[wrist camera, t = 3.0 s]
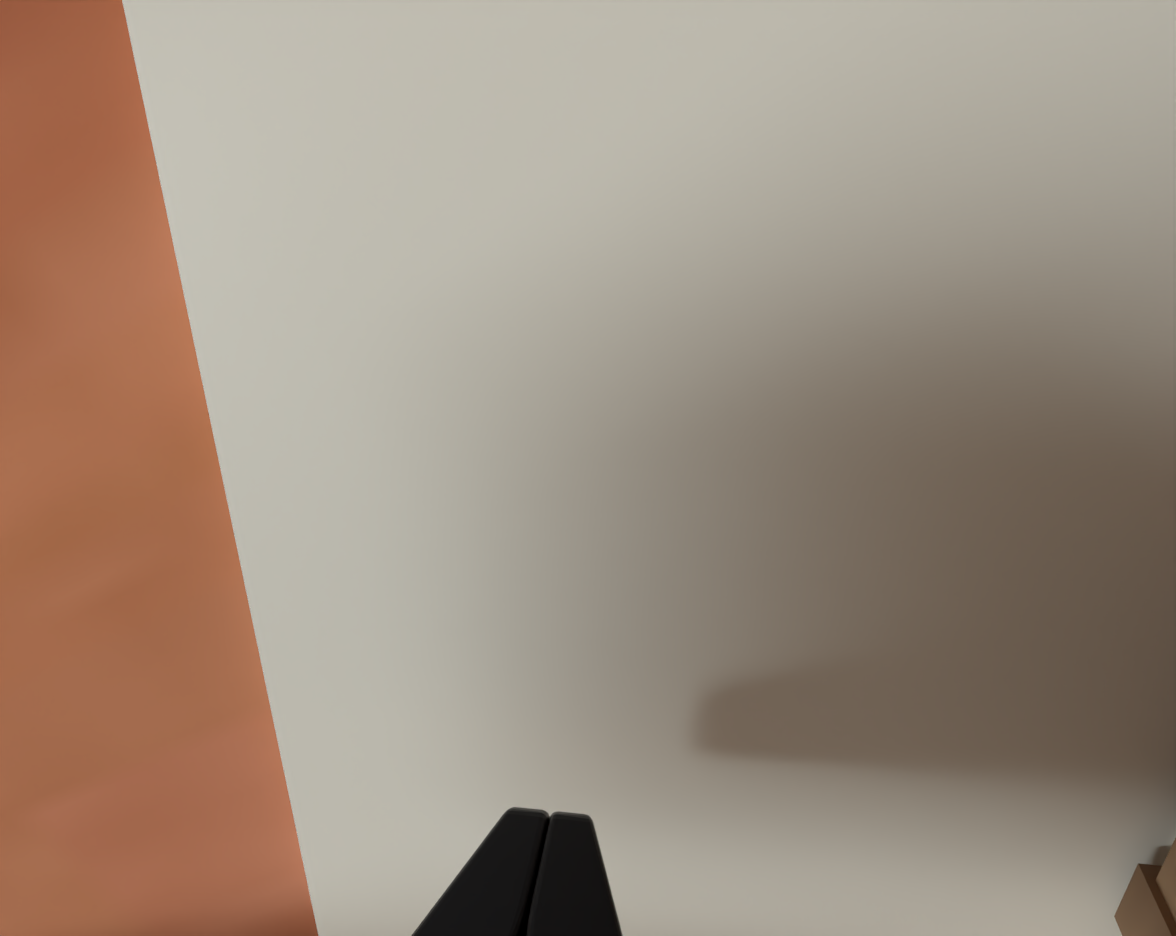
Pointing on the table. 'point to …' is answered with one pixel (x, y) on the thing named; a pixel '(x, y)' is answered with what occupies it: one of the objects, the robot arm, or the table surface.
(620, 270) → the card
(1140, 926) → the fence hinged
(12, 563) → the table surface
